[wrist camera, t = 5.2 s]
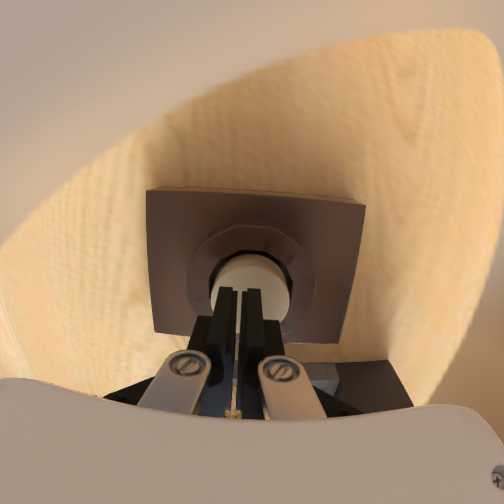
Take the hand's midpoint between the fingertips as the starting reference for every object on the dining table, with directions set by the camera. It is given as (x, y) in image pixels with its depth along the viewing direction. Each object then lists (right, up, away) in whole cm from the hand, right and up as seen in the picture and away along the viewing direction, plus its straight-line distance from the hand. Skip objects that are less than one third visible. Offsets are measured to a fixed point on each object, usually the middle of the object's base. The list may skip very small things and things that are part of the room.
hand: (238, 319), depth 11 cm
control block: (+1, +2, +6) cm, 7 cm away
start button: (0, +1, +3) cm, 3 cm away
